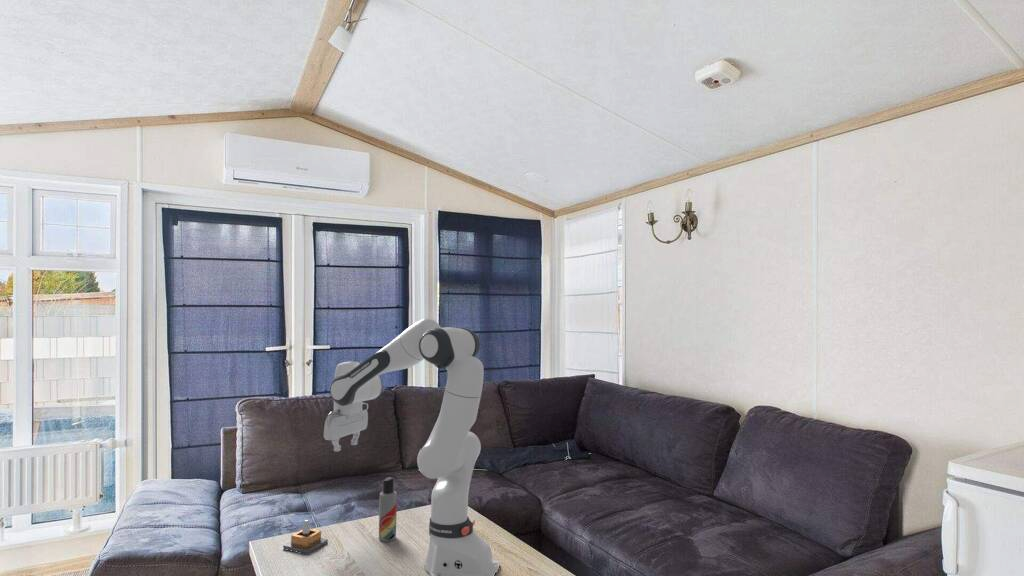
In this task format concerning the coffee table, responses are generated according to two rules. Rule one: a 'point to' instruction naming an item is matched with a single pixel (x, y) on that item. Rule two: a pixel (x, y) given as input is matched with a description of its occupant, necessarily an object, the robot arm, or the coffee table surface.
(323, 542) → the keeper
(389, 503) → the lotion bottle
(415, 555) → the coffee table surface
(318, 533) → the wooden square frame
